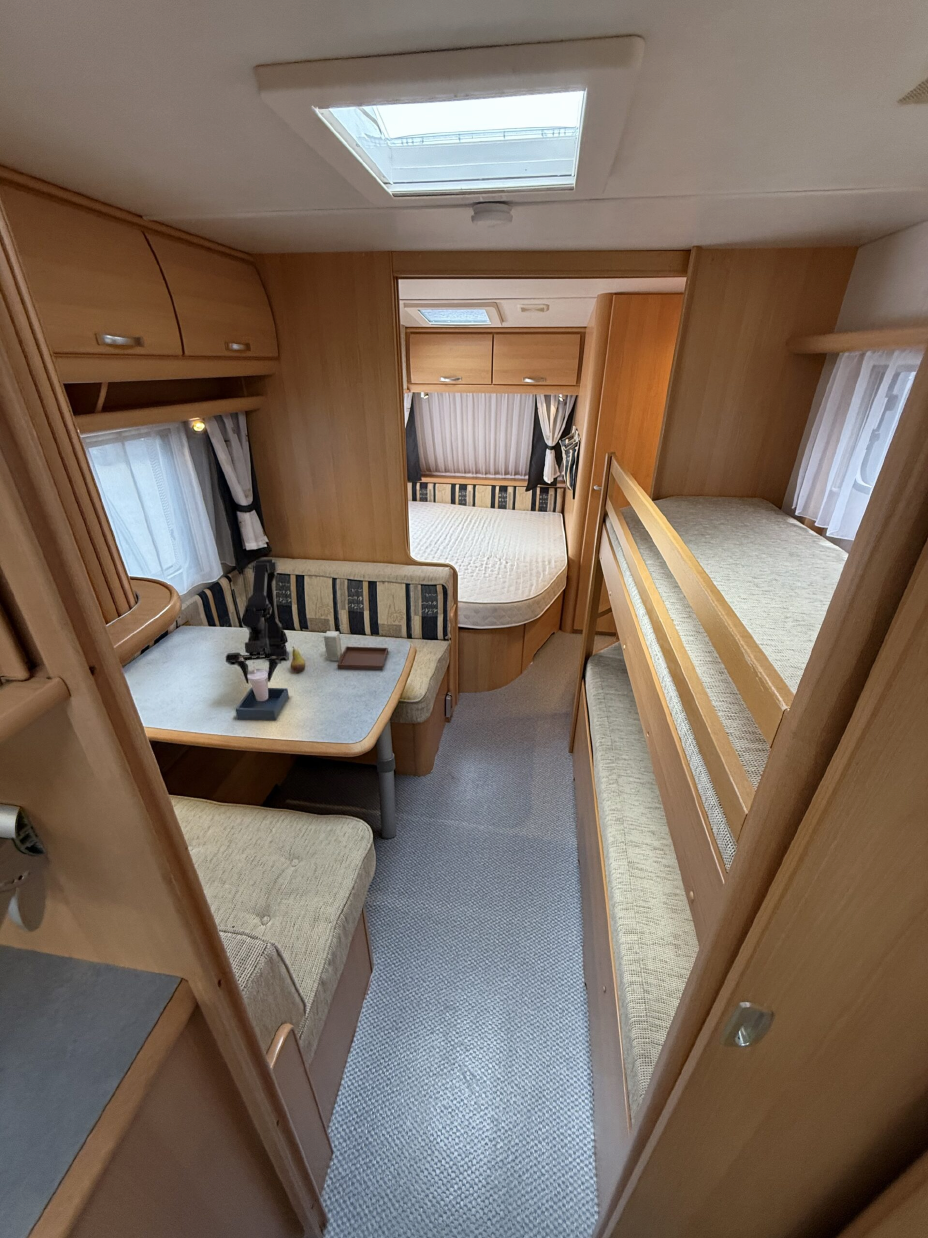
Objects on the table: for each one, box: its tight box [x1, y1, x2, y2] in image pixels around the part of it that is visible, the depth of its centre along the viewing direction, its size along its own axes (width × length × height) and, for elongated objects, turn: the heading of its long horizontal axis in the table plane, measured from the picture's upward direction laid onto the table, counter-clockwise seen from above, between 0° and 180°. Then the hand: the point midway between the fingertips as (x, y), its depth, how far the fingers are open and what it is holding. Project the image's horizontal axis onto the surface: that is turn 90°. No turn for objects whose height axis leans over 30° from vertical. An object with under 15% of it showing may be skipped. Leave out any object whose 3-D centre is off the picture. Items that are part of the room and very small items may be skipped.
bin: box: [234, 686, 290, 721], centre depth 165 cm, size 13×13×4 cm
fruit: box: [290, 646, 306, 673], centre depth 185 cm, size 6×6×12 cm
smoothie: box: [247, 661, 269, 701], centre depth 161 cm, size 6×6×14 cm
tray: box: [337, 646, 389, 671], centre depth 195 cm, size 17×14×2 cm
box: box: [323, 630, 343, 662], centre depth 194 cm, size 5×4×11 cm
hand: (258, 682), depth 160 cm, fingers closed on smoothie, 6 cm apart
